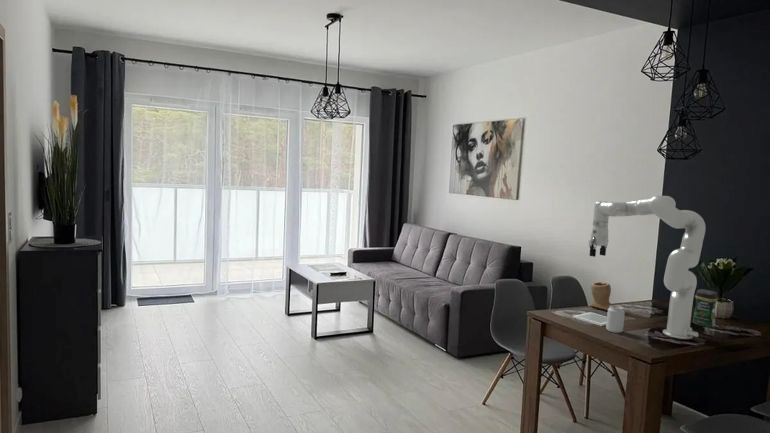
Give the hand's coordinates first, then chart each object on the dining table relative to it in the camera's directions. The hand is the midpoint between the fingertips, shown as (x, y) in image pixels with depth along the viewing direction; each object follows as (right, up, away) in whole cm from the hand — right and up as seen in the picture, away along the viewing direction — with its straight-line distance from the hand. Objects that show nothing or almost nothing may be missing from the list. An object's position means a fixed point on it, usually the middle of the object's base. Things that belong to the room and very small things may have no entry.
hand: (597, 255), depth 288 cm
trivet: (-6, -32, -13) cm, 35 cm away
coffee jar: (+50, -36, -11) cm, 63 cm away
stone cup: (+7, -31, +11) cm, 34 cm away
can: (-5, -34, -32) cm, 47 cm away
